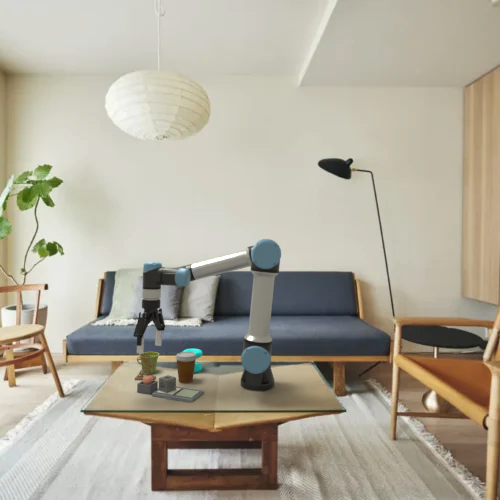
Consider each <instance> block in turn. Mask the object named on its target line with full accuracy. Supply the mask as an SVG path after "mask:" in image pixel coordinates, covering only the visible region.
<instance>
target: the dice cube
mask: <svg viewBox="0 0 500 500" xmlns="http://www.w3.org/2000/svg"><path fill="white" fill-rule="evenodd" d="M176 386H177V377H175V376H172V375H169V374H168V375H165V376H162V377H159V378H158V389H159V391H162V392H165V393H168V392H171V391H174V390H176Z"/></svg>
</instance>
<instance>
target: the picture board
mask: <svg viewBox="0 0 500 500" xmlns="http://www.w3.org/2000/svg"><path fill="white" fill-rule="evenodd" d="M204 393H205V391H204V390H203V389H197V388H190V387H184V386H183V387H182V386H177V385H176V390H174V391H171V392H168V393H165V392H162V391H159V388H158V389H157V390H155V391H154V392H152V393H151V396H152V397H155V398H160V399H167V400H173V401H181V402H186V403H193V402H194V401H196V400H197V399H199V397H200V396H202V395H203V394H204Z"/></svg>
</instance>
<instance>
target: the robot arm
mask: <svg viewBox="0 0 500 500" xmlns="http://www.w3.org/2000/svg"><path fill="white" fill-rule="evenodd" d="M281 258H282V249H281V247H280V245H279V244H278V243H277V242H276V241H275V240H273V239H271V238H270V239H269V238H263V239H259V240H258V241H257V242H255V244H254V245H251V246H247V247H246V249H244V250H239V251H236V252H233V253H228V254H224V255H221V256H218V257H214V258H209V259H206V260H202V261H198V262H194V263H193V262H192V263H190V264H186V265H183V266H178V267H166V266H165V267H163V264H162V263H161V262H160V261H145V262H144V264H143V267H142V295H141V297H142V299H141V308H142V309H143V310H144V311H143V312H141V311H139V313H138V318H137V322H136V326H135V328H134V332H133V334H132V336H133V337H134V338H136V354H143V353H144V351H145V337H144V335H145V333H146V330H147V328H148V326H149V324H151V323H152V322H153V324H154V326H155V328H156V330H155V341H154V346H156V347H157V346H158V347H162V345H163V344H162V343H163V340H162V337H163V336H162V335H163V331H165V328H166V324H165V319H164V315H163V310H162V308H161V298H162V297H161V295H162V293H161V291H162V286H170V287H171V286H172V287H188V286H189V285H190V283H191V282H193V281H197V280H198V281H199V280H201V279H205V278H210V277H213V276H217V275H221V274H225V273H229V272H233V271H237V270H241V269H245V268H249V267H250V272H251V274H252V275H253V281H252V289H251V290H252V291H251V301H250V310H249V311H250V312H249V319H248V331H247V333H246V334H245V335H244V336H243V345H242V352H241V355H240V361H241V365H242V367H243V370H242V374H241V377H240V386H241V387H242V388H244V389H246V390H249V391H268V390H271V389H273V388H274V387H275V377H274V375H273V371H272V346H273V344H272V343H273V338H272V334H270V327H271V317H272V306H273V299H274V298H273V296H274V287H275V278H276V276H278V275H279V273H280V265H281ZM272 387H273V388H272ZM270 388H271V389H270ZM267 389H268V390H267Z"/></svg>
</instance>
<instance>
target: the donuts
mask: <svg viewBox="0 0 500 500" xmlns="http://www.w3.org/2000/svg"><path fill="white" fill-rule="evenodd" d="M182 352H193V353H195V354H196V356H197V358H196V360H198V359H199V358H202V356H203V354H204V353H203V351H202V350H201V349H199V348H193V347H192V348H186V349H184V350H182ZM202 370H203V365H202V364H201V362H197V361H195V368H194V374H197V373H199V372H201V371H202Z"/></svg>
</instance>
